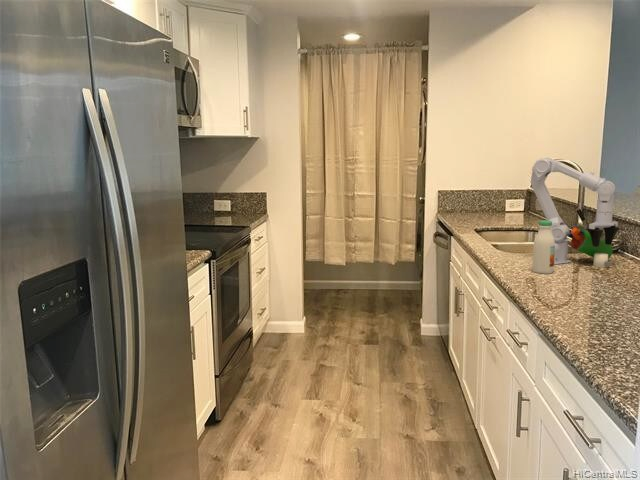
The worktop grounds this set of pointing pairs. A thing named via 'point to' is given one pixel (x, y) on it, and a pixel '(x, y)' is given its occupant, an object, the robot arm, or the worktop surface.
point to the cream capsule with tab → (601, 260)
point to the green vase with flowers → (588, 243)
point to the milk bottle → (544, 249)
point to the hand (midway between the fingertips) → (602, 245)
